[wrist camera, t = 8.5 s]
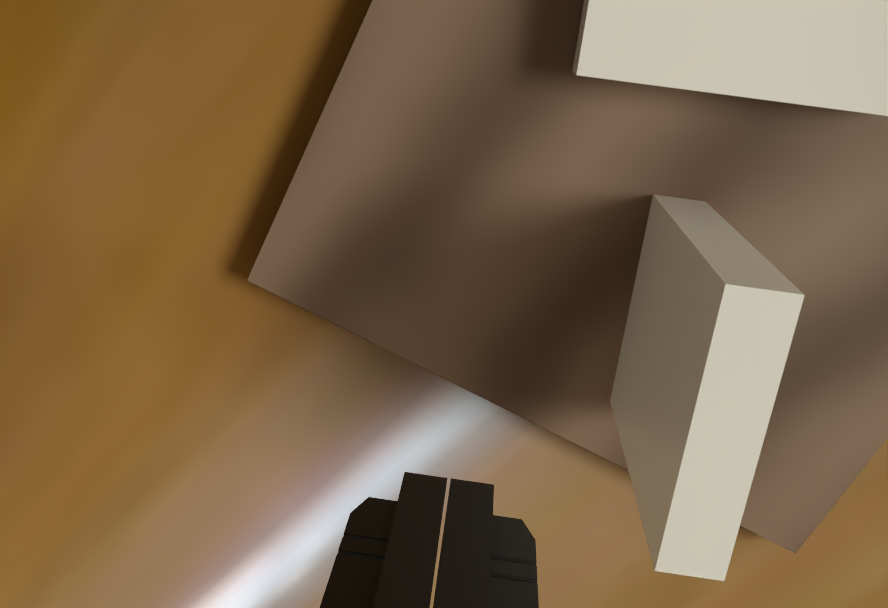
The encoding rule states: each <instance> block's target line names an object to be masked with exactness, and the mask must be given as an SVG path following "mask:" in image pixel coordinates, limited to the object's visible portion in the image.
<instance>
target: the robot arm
mask: <svg viewBox="0 0 888 608" xmlns="http://www.w3.org/2000/svg"><path fill="white" fill-rule="evenodd" d="M446 483H447V478H443V477H436V476H429V475H422V474H415V473H408V472H405V473H404V477H403V481H402V485H401V490H400V494H399V498H398V501H391V500H384V499H378V498H371V497H368V498H367V499H366V500H365V501H364V502H363V503H362V504H360V505H359V506H358V507H357V508H356V509H355V510H353V511H352V512H351V513H350V516H349V519H348V522H347V525H346V529H345V532H344V536H343V538H342V541H341V544H340V547H339V551H338V554H337V556H336V559H335V562H334V565H333V569H332V572H331V575H330V578H329V581H328V584H327V587H326V590H325V593H324V596H323V599H322V602H321V605H320V608H429V607H430V599H431V592H432V585H433V578H434V570H435V563H436V556H437V549H438V541H439V534H440V527H441V519H442V512H443V505H444V498H445V490H446ZM493 494H494V485H492V484H485V483H478V482H471V481H464V480H458V479H451V483H450V489H449V497H448V504H447V511H446V518H445V525H444V532H443V539H442V546H441V553H440V560H439V568H438V575H437V582H436V590H435V597H434V605H433V608H539V605H538V585H537V566H536V544H535V539H534V537H533V536H532V534H531V533H530V531H529V530H528V528H527V527H526V525H525V524H524V522H523V521H522V519H515V518H508V517H501V516H495V515H493Z"/></svg>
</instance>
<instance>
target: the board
mask: <svg viewBox="0 0 888 608" xmlns="http://www.w3.org/2000/svg"><path fill="white" fill-rule="evenodd" d="M583 4H584V0H372V2H371V5H370V7H369V9H368V11H367V14H366V16H365V18H364V20H363V22H362V25H361V27H360V29H359V31H358V34H357V36H356V38H355V40H354V43H353V45H352V47H351V49H350V51H349V54H348V56H347V58H346V60H345V63H344V65H343V67H342V69H341V72H340V74H339V76H338V78H337V81H336V83H335V85H334V87H333V89H332V92H331V94H330V96H329V98H328V101H327V103H326V105H325V107H324V110H323V112H322V114H321V116H320V118H319V121H318V123H317V125H316V127H315V130H314V132H313V134H312V136H311V139H310V141H309V143H308V145H307V148H306V150H305V152H304V154H303V156H302V159H301V161H300V163H299V165H298V168H297V170H296V172H295V174H294V177H293V179H292V181H291V183H290V185H289V188H288V190H287V192H286V194H285V197H284V199H283V201H282V203H281V206H280V208H279V210H278V212H277V214H276V217H275V219H274V221H273V223H272V226H271V228H270V230H269V232H268V235H267V237H266V239H265V241H264V244H263V246H262V248H261V250H260V252H259V255H258V257H257V259H256V261H255V264H254V266H253V268H252V270H251V273H250V275H249V277H248V279H247V281H249V282H251V283H253V284H255V285H257V286H259V287H261V288H263V289H265V290H267V291H269V292H271V293H273V294H275V295H277V296H279V297H281V298H283V299H285V300H287V301H289V302H291V303H293V304H295V305H297V306H299V307H301V308H303V309H305V310H307V311H309V312H311V313H313V314H315V315H317V316H319V317H321V318H323V319H325V320H327V321H329V322H331V323H333V324H335V325H337V326H339V327H342V328H344V329H346V330H348V331H350V332H352V333H354V334H356V335H358V336H360V337H362V338H364V339H366V340H368V341H370V342H372V343H374V344H376V345H378V346H380V347H382V348H384V349H386V350H388V351H390V352H392V353H394V354H396V355H398V356H400V357H402V358H404V359H406V360H408V361H410V362H412V363H414V364H416V365H418V366H420V367H422V368H424V369H426V370H428V371H430V372H432V373H434V374H436V375H438V376H440V377H442V378H444V379H446V380H448V381H450V382H452V383H454V384H456V385H458V386H460V387H462V388H464V389H466V390H468V391H470V392H472V393H474V394H476V395H478V396H480V397H482V398H484V399H486V400H488V401H490V402H492V403H494V404H496V405H498V406H500V407H502V408H504V409H506V410H508V411H510V412H512V413H514V414H516V415H518V416H520V417H522V418H524V419H526V420H528V421H530V422H532V423H534V424H536V425H538V426H540V427H542V428H544V429H547V430H549V431H551V432H553V433H555V434H557V435H559V436H561V437H563V438H565V439H567V440H569V441H571V442H573V443H575V444H577V445H579V446H581V447H583V448H585V449H587V450H589V451H591V452H593V453H595V454H597V455H599V456H601V457H603V458H605V459H607V460H609V461H611V462H613V463H615V464H617V465H619V466H621V467H623V468H625V469H627V470H628V467H627V464H626V460H625V456H624V452H623V448H622V445H621V441H620V437H619V433H618V429H617V426H616V422H615V418H614V414H613V410H612V407H611V403H610V399H611V394H612V389H613V384H614V380H615V375H616V370H617V365H618V360H619V356H620V351H621V346H622V341H623V336H624V332H625V327H626V322H627V317H628V312H629V308H630V303H631V298H632V293H633V288H634V284H635V279H636V274H637V269H638V264H639V260H640V255H641V250H642V245H643V240H644V236H645V231H646V226H647V221H648V216H649V212H650V207H651V202H652V197H653V195H661V196H668V197H675V198H683V199H690V200H698V201H705V202H707V203H708V204H709V205H710V206H711V207H712V208H713V209H714V210H715V211H716V212H717V213H718V214H719V215H720V216H722V217H723V218H724V219H725V220H726V221H727V222H728V223H729V224H730V225H731V226H732V227H733V228H734V229H735V230H736V231H737V232H738V233H740V234H741V235H742V236H743V237H744V238H745V239H746V240H747V241H748V242H749V243H750V244H751V245H752V246H753V247H754V248H755V249H757V250H758V251H759V252H760V253H761V254H762V255H763V256H764V257H765V258H766V259H767V260H768V261H769V262H770V263H771V264H772V265H774V266H775V267H776V268H777V269H778V270H779V271H780V272H781V273H782V274H783V275H784V276H785V277H786V278H787V279H788V280H789V281H791V282H792V283H793V284H794V285H795V286H796V287H797V288H798V289H799V290H800V291H801V292H802V293H803V294H804V295H805V296H804V299H803V303H802V306H801V310H800V314H799V317H798V321H797V324H796V328H795V331H794V335H793V338H792V342H791V346H790V349H789V353H788V356H787V360H786V363H785V367H784V370H783V374H782V378H781V381H780V385H779V388H778V392H777V395H776V399H775V402H774V406H773V410H772V413H771V417H770V420H769V424H768V427H767V431H766V434H765V438H764V442H763V445H762V449H761V452H760V456H759V459H758V463H757V466H756V470H755V474H754V477H753V481H752V484H751V488H750V491H749V495H748V498H747V502H746V506H745V509H744V513H743V516H742V520H741V523H740V526H741V527H743V528H745V529H747V530H749V531H751V532H754V533H756V534H758V535H760V536H762V537H764V538H766V539H768V540H770V541H772V542H774V543H776V544H778V545H780V546H782V547H784V548H786V549H788V550H790V551H792V552H794V553H796V552H797V551H798V550H799V548H800V547H801V546H802V545H803V543H804V542H805V541H806V540H807V538H808V537H809V536H810V535H811V533H812V532H813V531H814V530H815V528H816V527H817V526H818V525H819V523H820V522H821V521H822V520H823V518H824V517H825V516H826V515H827V513H828V512H829V511H830V510H831V508H832V507H833V506H834V505H835V503H836V502H837V501H838V500H839V498H840V497H841V496H842V495H843V493H844V492H845V491H846V490H847V488H848V487H849V486H850V485H851V483H852V482H853V481H854V480H855V478H856V477H857V476H858V475H859V473H860V472H861V471H862V470H863V468H864V467H865V466H866V465H867V463H868V462H869V461H870V460H871V458H872V457H873V456H874V455H875V453H876V452H877V451H878V449H879V448H880V447H881V446H882V444H883V443H884V442H885V441H886V439H887V438H888V116H883V115H876V114H868V113H861V112H853V111H845V110H838V109H830V108H822V107H815V106H807V105H800V104H792V103H784V102H777V101H769V100H762V99H754V98H746V97H739V96H731V95H723V94H716V93H708V92H701V91H693V90H685V89H678V88H670V87H662V86H655V85H647V84H640V83H632V82H624V81H617V80H609V79H601V78H594V77H586V76H579V75H576V74H574V73H573V72H572V70H573V64H574V58H575V52H576V46H577V40H578V34H579V28H580V22H581V16H582V10H583Z"/></svg>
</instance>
